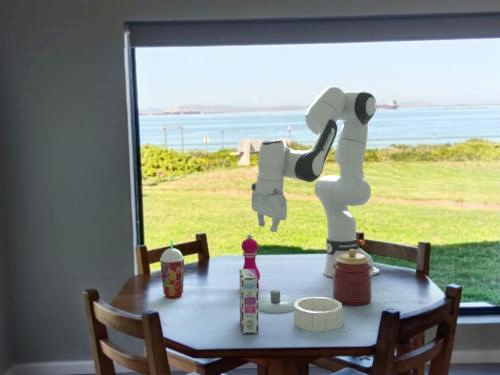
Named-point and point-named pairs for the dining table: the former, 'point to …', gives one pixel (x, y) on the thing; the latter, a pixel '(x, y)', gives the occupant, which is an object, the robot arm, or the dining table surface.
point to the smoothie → (172, 272)
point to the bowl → (317, 313)
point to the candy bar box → (248, 301)
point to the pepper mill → (250, 254)
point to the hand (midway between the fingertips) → (267, 228)
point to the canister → (352, 279)
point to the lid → (276, 303)
